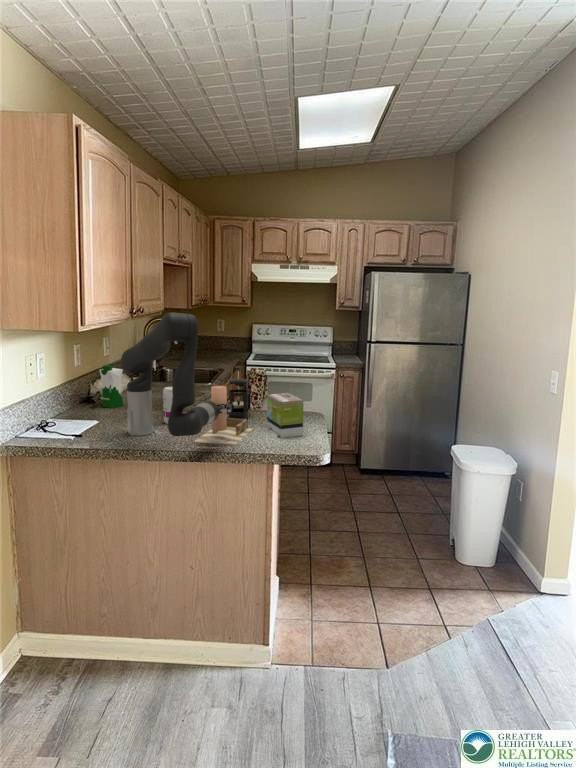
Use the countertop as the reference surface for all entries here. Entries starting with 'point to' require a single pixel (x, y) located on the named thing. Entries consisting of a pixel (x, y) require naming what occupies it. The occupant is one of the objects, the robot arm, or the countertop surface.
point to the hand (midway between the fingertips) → (221, 404)
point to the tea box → (285, 414)
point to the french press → (238, 412)
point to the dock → (227, 433)
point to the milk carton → (111, 387)
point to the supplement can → (167, 403)
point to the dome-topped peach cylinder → (219, 397)
